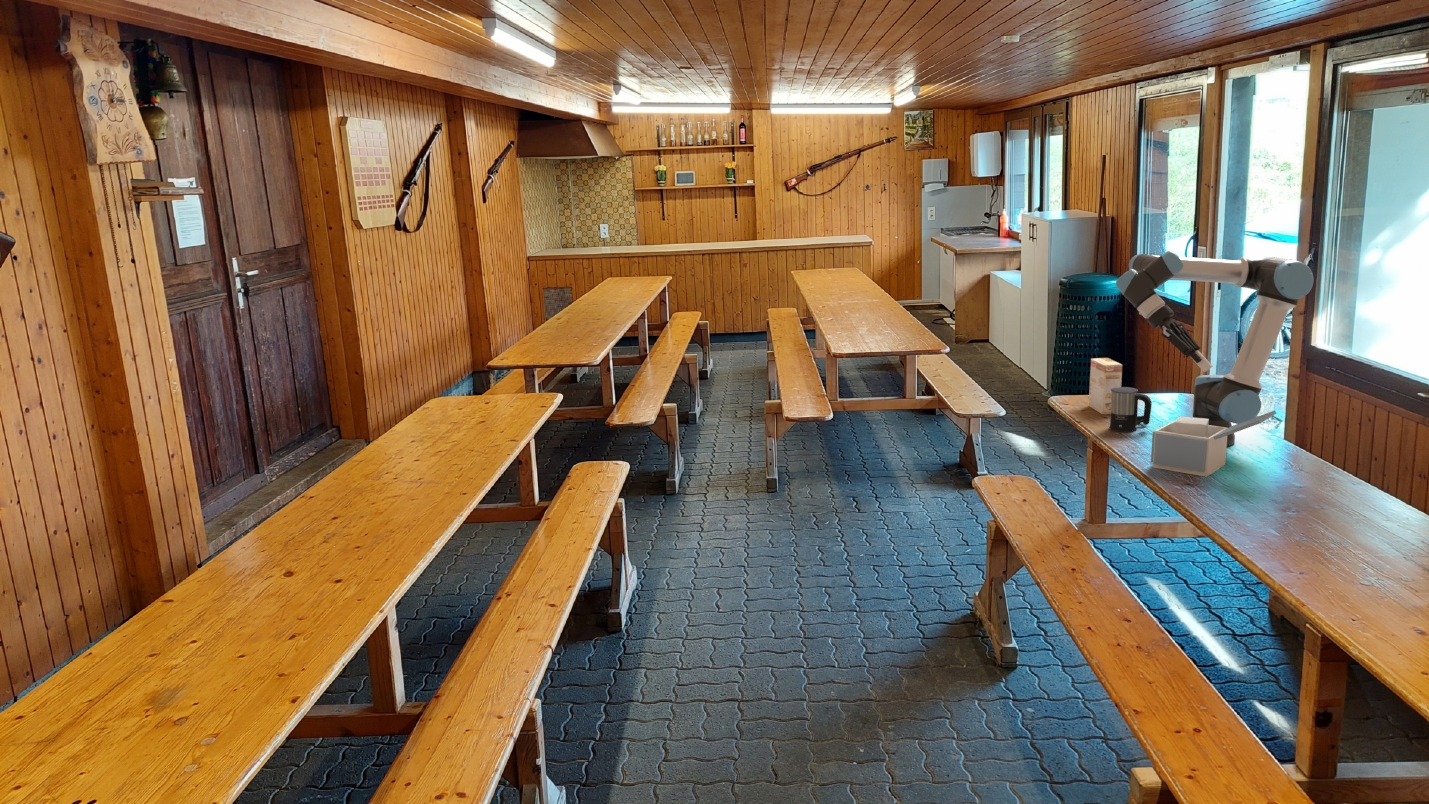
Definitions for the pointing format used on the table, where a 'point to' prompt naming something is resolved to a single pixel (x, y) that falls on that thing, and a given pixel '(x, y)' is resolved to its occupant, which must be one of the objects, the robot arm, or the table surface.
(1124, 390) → the milk frother
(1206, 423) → the supplement box
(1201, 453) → the carton
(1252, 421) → the flap
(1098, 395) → the coffeecake box
